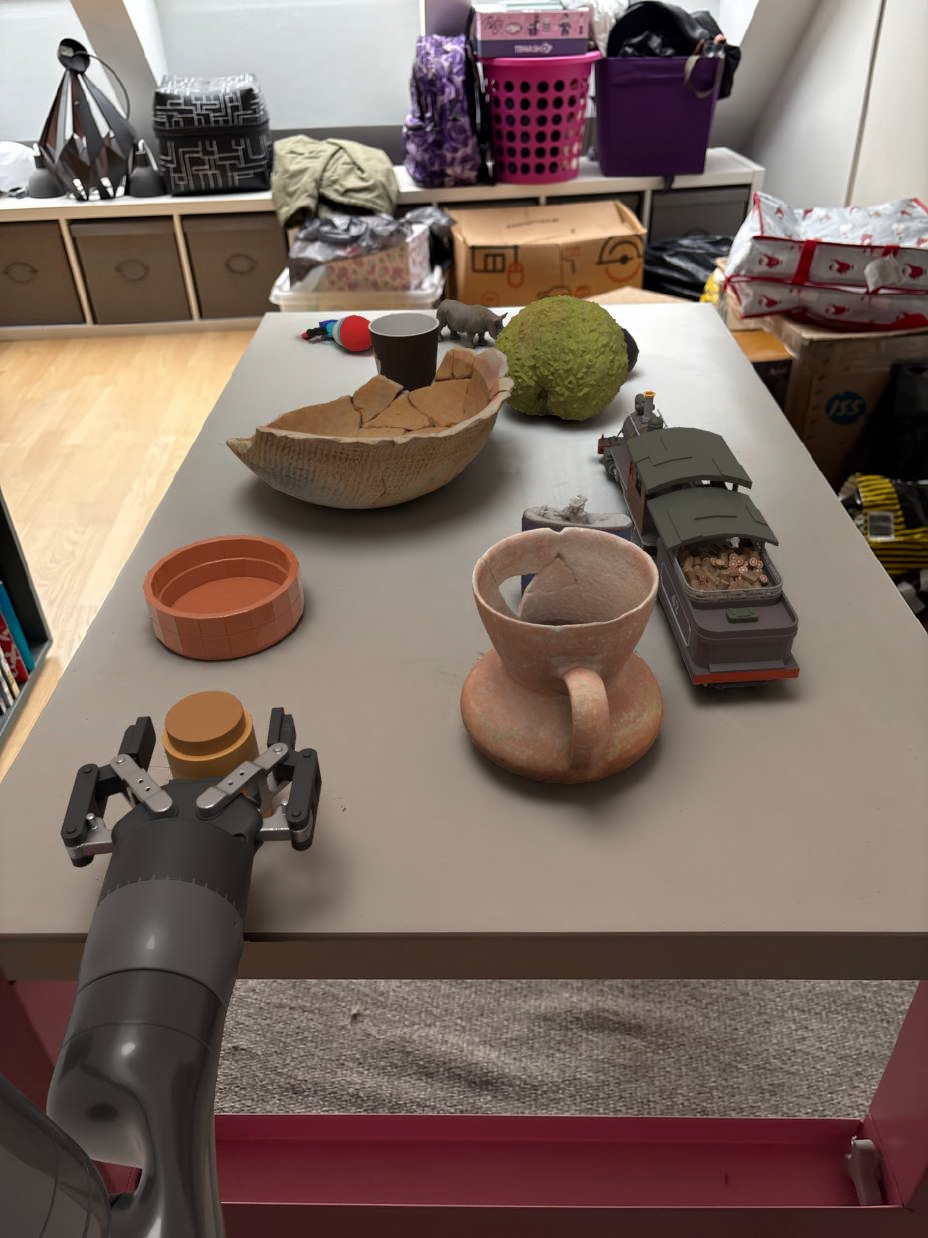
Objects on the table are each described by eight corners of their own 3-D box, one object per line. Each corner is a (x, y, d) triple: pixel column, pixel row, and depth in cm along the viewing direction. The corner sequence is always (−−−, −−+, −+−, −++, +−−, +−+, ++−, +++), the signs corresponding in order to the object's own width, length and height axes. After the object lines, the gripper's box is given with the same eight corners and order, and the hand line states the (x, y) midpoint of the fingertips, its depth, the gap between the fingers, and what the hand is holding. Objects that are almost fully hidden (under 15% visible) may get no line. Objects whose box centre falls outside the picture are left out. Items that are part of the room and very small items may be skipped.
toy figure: (298, 348, 144) (351, 357, 133) (293, 314, 142) (347, 320, 131) (341, 340, 148) (396, 348, 137) (337, 307, 146) (392, 312, 135)
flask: (627, 601, 84) (635, 493, 78) (624, 621, 82) (632, 511, 76) (523, 592, 86) (522, 485, 80) (517, 611, 84) (516, 502, 78)
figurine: (592, 324, 120) (573, 297, 136) (578, 377, 123) (561, 345, 139) (649, 337, 121) (624, 308, 137) (634, 389, 124) (611, 355, 140)
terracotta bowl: (141, 667, 79) (128, 623, 76) (169, 581, 90) (159, 539, 87) (299, 656, 80) (292, 612, 77) (309, 572, 90) (302, 530, 88)
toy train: (587, 449, 109) (591, 354, 103) (665, 444, 109) (674, 350, 103) (683, 709, 73) (699, 587, 66) (800, 701, 73) (828, 579, 66)
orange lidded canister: (181, 852, 63) (149, 749, 57) (194, 790, 67) (166, 689, 62) (267, 846, 63) (243, 742, 58) (275, 784, 68) (253, 683, 62)
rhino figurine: (508, 358, 133) (507, 315, 130) (429, 341, 140) (426, 300, 136) (524, 349, 136) (524, 307, 132) (445, 333, 143) (444, 292, 139)
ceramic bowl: (312, 401, 118) (315, 282, 109) (522, 460, 114) (545, 341, 105) (184, 527, 96) (174, 390, 86) (439, 605, 92) (458, 471, 82)
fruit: (493, 442, 111) (461, 311, 109) (524, 436, 125) (497, 319, 122) (630, 407, 106) (600, 268, 103) (648, 404, 119) (621, 281, 117)
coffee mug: (435, 417, 118) (431, 337, 112) (367, 414, 119) (359, 335, 114) (453, 381, 127) (450, 305, 121) (390, 379, 129) (383, 304, 123)
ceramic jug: (456, 668, 78) (448, 513, 69) (635, 657, 78) (648, 502, 70) (469, 839, 63) (461, 669, 55) (689, 825, 63) (714, 654, 55)
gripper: (297, 873, 47) (316, 668, 60) (4, 895, 47) (87, 684, 60) (316, 965, 52) (330, 755, 65) (48, 987, 51) (117, 771, 64)
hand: (213, 721), depth 62 cm, fingers open, 8 cm apart
